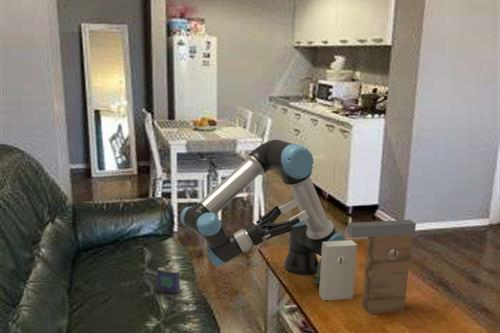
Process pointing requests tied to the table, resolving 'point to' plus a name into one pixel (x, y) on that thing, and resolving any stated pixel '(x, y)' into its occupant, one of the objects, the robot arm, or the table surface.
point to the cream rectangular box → (337, 270)
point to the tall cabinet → (386, 273)
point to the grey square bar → (381, 228)
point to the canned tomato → (318, 274)
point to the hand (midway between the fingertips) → (301, 207)
